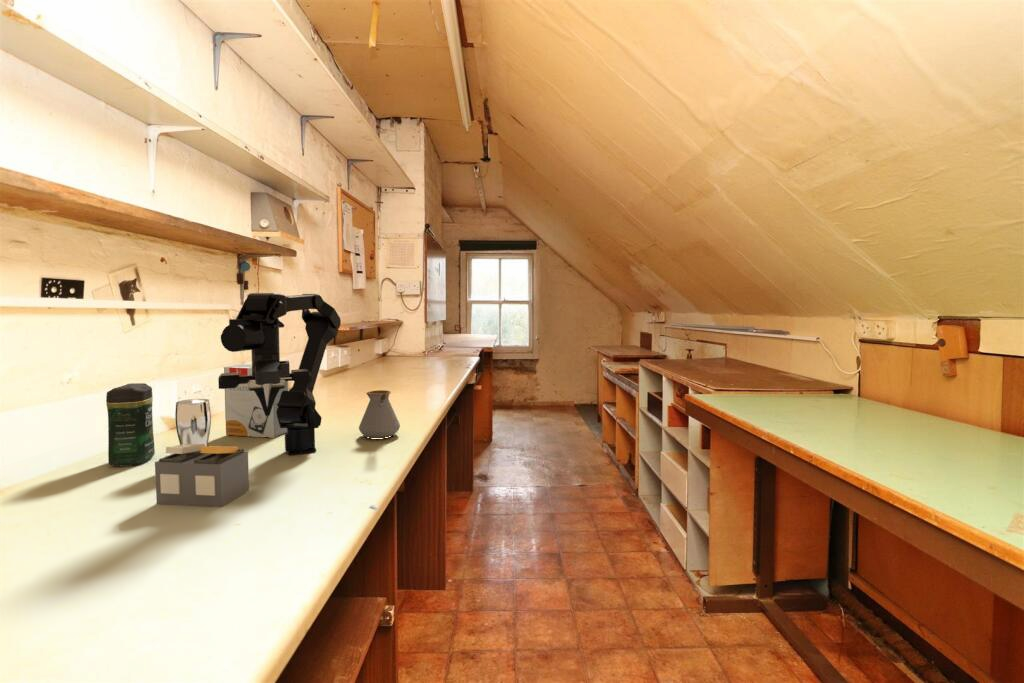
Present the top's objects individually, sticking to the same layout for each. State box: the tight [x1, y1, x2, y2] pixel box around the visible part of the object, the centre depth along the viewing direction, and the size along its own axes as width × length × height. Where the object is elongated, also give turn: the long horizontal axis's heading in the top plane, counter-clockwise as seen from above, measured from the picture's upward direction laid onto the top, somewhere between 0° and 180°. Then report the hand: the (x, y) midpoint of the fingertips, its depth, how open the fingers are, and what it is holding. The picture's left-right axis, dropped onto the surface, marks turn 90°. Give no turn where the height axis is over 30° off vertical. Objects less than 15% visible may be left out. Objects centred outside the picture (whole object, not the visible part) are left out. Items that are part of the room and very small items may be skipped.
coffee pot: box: [358, 389, 401, 438], centre depth 134 cm, size 21×12×15 cm, turn 20°
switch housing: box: [154, 448, 250, 508], centre depth 94 cm, size 8×13×8 cm, turn 85°
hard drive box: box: [223, 363, 289, 439], centre depth 140 cm, size 16×8×20 cm, turn 80°
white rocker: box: [165, 444, 205, 455], centre depth 94 cm, size 6×3×1 cm, turn 175°
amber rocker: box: [200, 445, 239, 454], centre depth 93 cm, size 6×3×1 cm, turn 175°
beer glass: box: [174, 398, 212, 446], centre depth 113 cm, size 7×7×15 cm
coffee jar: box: [105, 382, 156, 467], centre depth 115 cm, size 10×8×19 cm
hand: (267, 415), depth 111 cm, fingers closed
